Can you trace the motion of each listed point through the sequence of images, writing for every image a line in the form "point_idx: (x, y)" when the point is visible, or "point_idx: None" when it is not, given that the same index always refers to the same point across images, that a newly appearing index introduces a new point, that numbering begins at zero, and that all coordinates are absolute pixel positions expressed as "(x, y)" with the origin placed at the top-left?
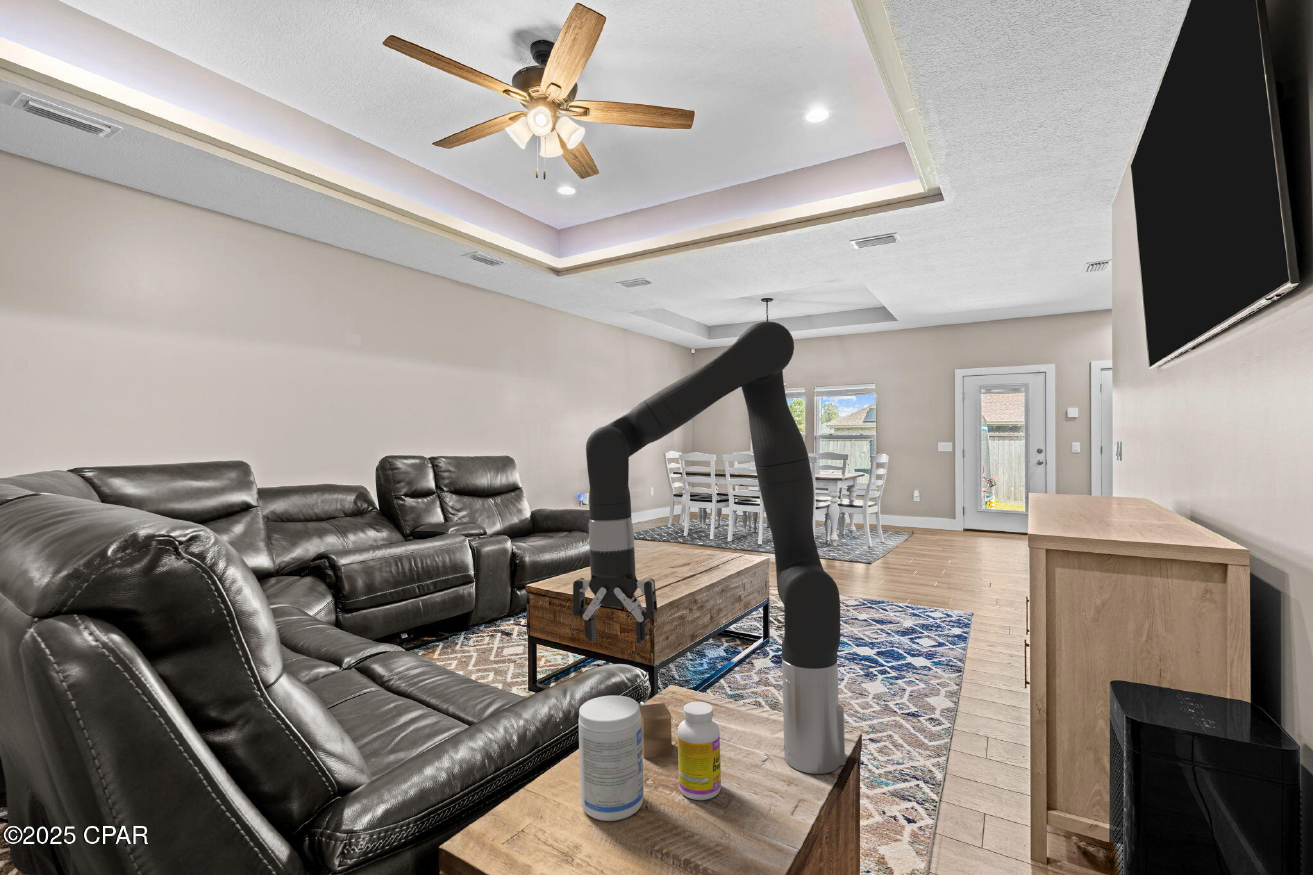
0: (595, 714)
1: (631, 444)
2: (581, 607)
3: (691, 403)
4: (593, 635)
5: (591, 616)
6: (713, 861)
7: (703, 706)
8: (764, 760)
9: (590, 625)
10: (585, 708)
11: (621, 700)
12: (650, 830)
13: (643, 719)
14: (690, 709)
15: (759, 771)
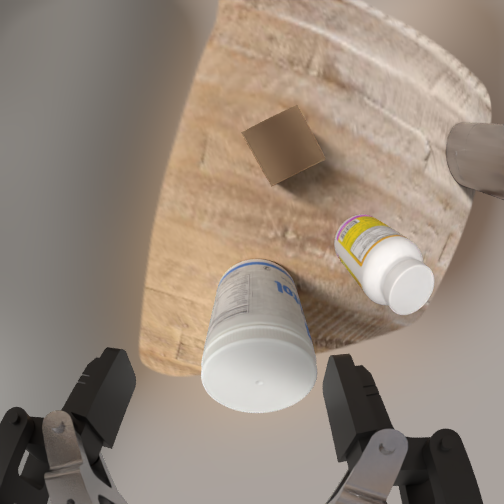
0: (244, 401)
1: None
2: (33, 450)
3: None
4: (125, 386)
5: (95, 450)
6: (368, 336)
7: (421, 283)
8: (427, 158)
9: (114, 433)
10: (215, 389)
11: (274, 358)
12: (310, 319)
13: (272, 185)
14: (400, 301)
15: (422, 185)
